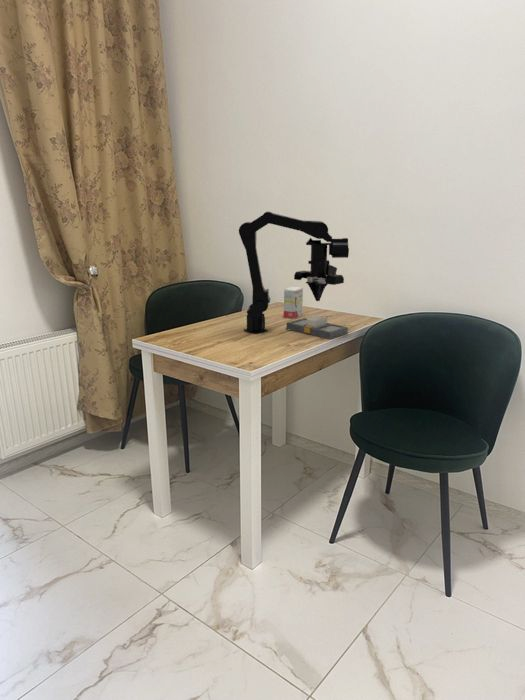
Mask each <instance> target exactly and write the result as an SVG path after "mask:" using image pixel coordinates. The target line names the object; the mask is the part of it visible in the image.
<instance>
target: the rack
mask: <svg viewBox="0 0 525 700" xmlns="http://www.w3.org/2000/svg"><path fill="white" fill-rule="evenodd" d="M307 319H308V318H305V317H304V318H301V319H297V320H291V321H289V322H286V330H288V329H289V330H288V331H293V332H296V333H302V334H306V335H308V336H309V335H310V336H314V337H318V338H322V339H326V340H333V339H335V338H339V337H343V336H346V335H348V333H349V327H348V326H345V325H339V324H333V323H330V322H327V325H325V326H322V327H318V328H313V327H309V326H306V321H307Z"/></svg>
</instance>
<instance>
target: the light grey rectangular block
mask: <svg viewBox="0 0 525 700" xmlns="http://www.w3.org/2000/svg"><path fill="white" fill-rule="evenodd" d="M306 319H307V321H306V326H309V327H313V328H318V327H322V326H325V325H327V323H328V317H325V316H319V315H317V316H314V317H309V318H306Z"/></svg>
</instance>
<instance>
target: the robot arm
mask: <svg viewBox="0 0 525 700" xmlns="http://www.w3.org/2000/svg"><path fill="white" fill-rule="evenodd" d="M269 224H270V225H273V226H274V225H275V226H278V227H282V228H286V229H290V230H295V231H299V232H302V233H305V234H307V235H309V236H310V237H309V239H308V240H307V241H305V245H306V246H310V260H308V265H310V270H299V271H295V273H294V275H293V276H294V277H293V279H294V281H295V280H296V281H301V280H302V279H307V280H306V281H305V284H307V285H308V287H309V289H310V290H311V292H312V295H313V297H314V299H315V301H316V302H320V300H321V298H322V295H323V293H324V290H325V288H326V287H327V286H328V285H331V286H332V285H333V286H334V285H335V286H336V285H340V284H345V278H344V276H343V274H337V271H338V267H336V266H334V265H331V264H330V260H328V256H331V258H332V259H334V258H335V259H337V258H338V259H343V258H345V259H346V258H347V259H348V258H349V256H350V255H349V252H350V248H349V239H348V237H343V238H333V236H332V235H330V233H329V227H328V225H327V224H326V223H325V222H324V221H321V220H305V219H304V220H303V219H299V218H295V217H290V216H285V215H281V214H279V213H278V214H277V213H274V212H271V211H265V212H264V213H263V214H261V215H260V216H259V217H257V218H255V219H254V220H252V221H251V222H250V221H247V222H243V223H242V224H241V225H240V226H239V229H238V235H239V237H240V240H241V242H242V244H243V247H244V249H245V253H246V254H245V255H246V258H247V264H248V269H249V270H248V271H249V274H250V275H249V276H250V281H251V285H252V295H251V296H252V302H251V304H250V305H249V306H248V308H247V310H246V328H243V331H245V332H248V333H252V334H259V333H263V332H267V331H268V328H266V317H265V313H264V312H267V310H268V307H269V304H270V303H271V297H270V295H269V294H270V293H269V291H270V289H269V288H266V289H265V286H264V284H263V278H262V272H261V265H260V261H259V256H258V251H257V249H258V248H257V232H258V231H259V230H261V229H262V228H263V227H265V226H267V225H269ZM311 237H313V238H314V239H312V238H311ZM321 239H322V240H324V241H325V242H322V240H321Z"/></svg>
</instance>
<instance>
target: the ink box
mask: <svg viewBox="0 0 525 700" xmlns="http://www.w3.org/2000/svg"><path fill="white" fill-rule="evenodd" d="M303 298H304V287H301V286H290V287H287V288H284V289H283V318H288V319H290V318H291V319H295V318H298V317H300V316H302V315H303V302H304V300H303Z"/></svg>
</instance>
